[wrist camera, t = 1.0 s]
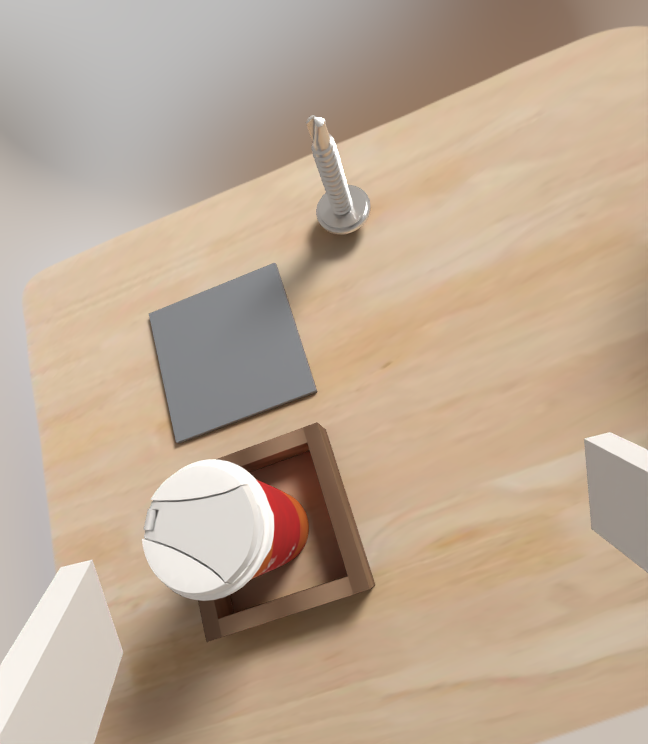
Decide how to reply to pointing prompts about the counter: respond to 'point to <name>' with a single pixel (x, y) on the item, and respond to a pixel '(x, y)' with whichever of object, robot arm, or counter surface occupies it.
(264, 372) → the slate mat
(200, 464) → the paper cup
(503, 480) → the counter surface
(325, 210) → the screw
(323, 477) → the cup holder
